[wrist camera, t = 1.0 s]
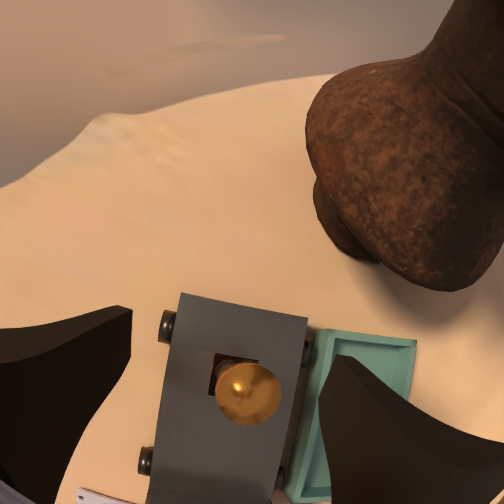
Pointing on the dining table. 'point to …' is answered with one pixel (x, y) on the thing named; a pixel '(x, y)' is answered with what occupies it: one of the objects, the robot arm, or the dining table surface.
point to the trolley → (208, 413)
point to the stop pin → (246, 392)
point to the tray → (324, 351)
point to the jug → (418, 154)
